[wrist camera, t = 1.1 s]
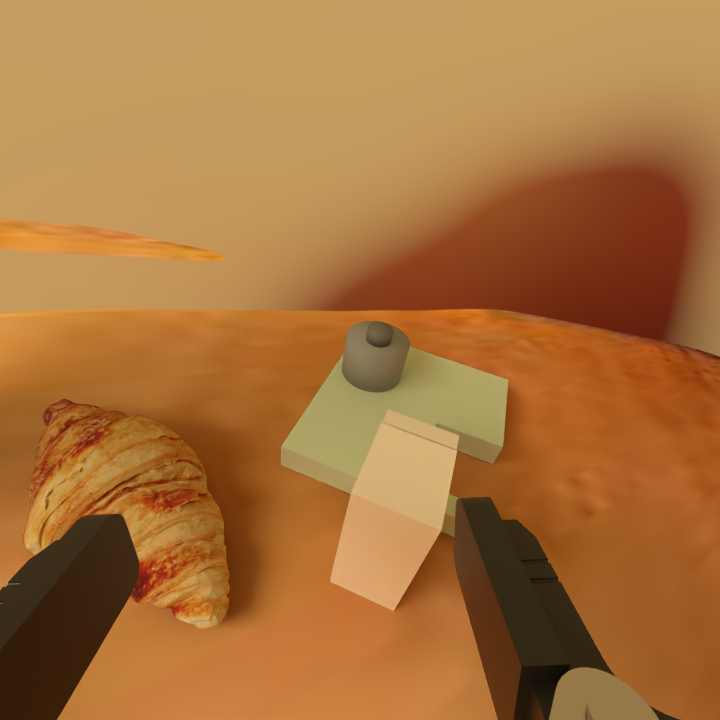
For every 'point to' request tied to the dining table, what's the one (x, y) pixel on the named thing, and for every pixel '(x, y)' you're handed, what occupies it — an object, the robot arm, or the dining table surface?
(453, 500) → the deck
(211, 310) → the dining table surface
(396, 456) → the beige bar
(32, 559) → the robot arm
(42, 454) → the croissant
